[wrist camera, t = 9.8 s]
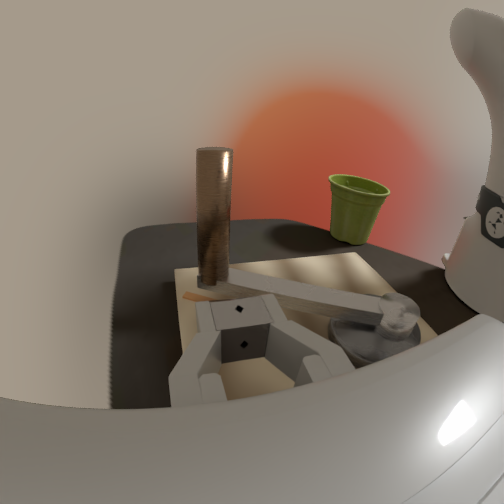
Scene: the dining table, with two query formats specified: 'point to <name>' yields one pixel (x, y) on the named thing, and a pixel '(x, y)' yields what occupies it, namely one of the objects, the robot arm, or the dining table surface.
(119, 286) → the dining table surface
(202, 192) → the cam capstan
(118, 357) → the dining table surface
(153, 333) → the dining table surface
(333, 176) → the plant pot
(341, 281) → the stand
